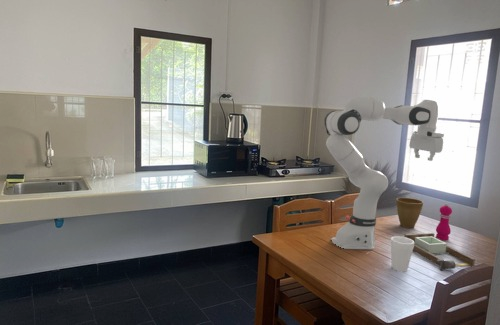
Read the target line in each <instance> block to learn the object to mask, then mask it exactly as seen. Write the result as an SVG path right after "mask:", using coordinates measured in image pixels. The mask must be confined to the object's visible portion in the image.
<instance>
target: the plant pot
mask: <svg viewBox="0 0 500 325" xmlns="http://www.w3.org/2000/svg"><path fill="white" fill-rule="evenodd" d="M423 206H424V201H423V200H420V199H417V198H411V197H396V210H397V216H398V220H399V224H400V227H403V228H407V229H413V228H414V227H415V226H416V224H417V222H418V220H419V217H420V215H421V212H422V209H423Z"/></svg>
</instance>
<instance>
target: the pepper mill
mask: <svg viewBox="0 0 500 325" xmlns="http://www.w3.org/2000/svg"><path fill="white" fill-rule="evenodd" d="M452 213H453V208H452V207H451V206H449V203H447V202H445V203H444V205H441V207H440V208H439V217H440V220H439V223H438V224H437V225H436V228H435V232H436V234H435V238H436V239H438V240H440V241H449V239H450V236H449V235H450V234H451V232H452V231H451V227H450V223H449V222H450V218H451V215H452Z"/></svg>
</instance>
